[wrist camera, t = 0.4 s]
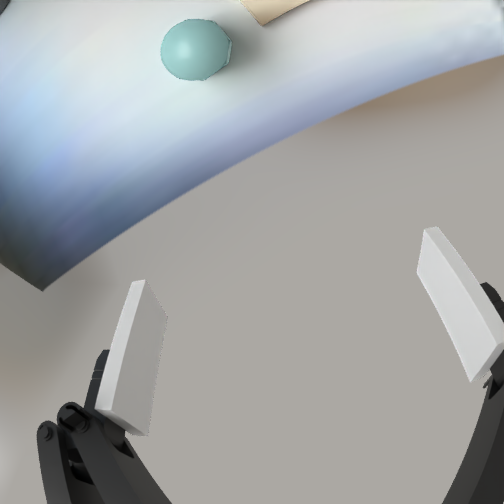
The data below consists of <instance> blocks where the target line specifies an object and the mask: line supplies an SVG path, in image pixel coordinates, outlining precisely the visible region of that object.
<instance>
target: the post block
mask: <svg viewBox="0 0 504 504" xmlns="http://www.w3.org/2000/svg"><path fill="white" fill-rule="evenodd" d="M240 1H241V3H242V4H243V5H244V6H245V7H246V8H247V10H248V11H249V12H250V13H251V14H252V15H253V17H254V18H255V19H256V20H257V21H258V23H259V24H260V25H261V26H263V25H265V24H266V23H268V22H270V21H272V20H273V19H275V18H277V17H279V16H280V15H282V14H284V13H286V12H288V11H290V10H292V9H294V8H295V7H297V6H299V5H301V4H303V3H305V2H307V1H309V0H240Z"/></svg>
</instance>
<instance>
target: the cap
mask: <svg viewBox="0 0 504 504" xmlns="http://www.w3.org/2000/svg"><path fill="white" fill-rule="evenodd" d="M231 48H232V41H231V39H230V38H229V37H228V36H227V35H226V34H225V32H224V31H223V30H222V29H221V28H220V27H219V25H218V24H217V23H216V22H214V21H210V20H203V19H187V20H185V21H183V22H181V23H179V24H177V25H175V26H174V27H173V28H172V29H170V30H169V32H168V33H167V34H166V36H165V37H164V39H163V42H162V45H161V59H162V62H163V64H164V66H165V67H166V69H167V70H168V71H169V72H170V73H171V74H173V75H174V76H176V77H177V78H179V79H184V80H190V81H194V80H201V81H203V80H206V79H207V78H209V77H210V76H211V75H213V74H214V73H216V72H217V71H218V70H220V69H221V68H223V67H224V66H225V65H227V64H228V63H229V59H230V53H231Z"/></svg>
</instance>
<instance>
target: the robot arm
mask: <svg viewBox="0 0 504 504" xmlns="http://www.w3.org/2000/svg"><path fill="white" fill-rule="evenodd" d="M8 2H9V0H0V14H1V13H2V11H3V10H4V8H5V7H6V5H7V4H8ZM417 275H418V276H419V278H420V280H421V281H422V283H423V285H424V287H425V289H426V291H427V292H428V294H429V296H430V298H431V300H432V302H433V304H434V305H435V307H436V309H437V311H438V313H439V315H440V317H441V319H442V321H443V323H444V325H445V327H446V329H447V331H448V333H449V335H450V338H451V340H452V342H453V344H454V346H455V348H456V351H457V353H458V355H459V357H460V359H461V362H462V364H463V366H464V368H465V371H466V374H467V376H468V378H469V381H470V382H473V381H475V380H477V379H479V378H482V377H484V376H485V375H486V373H487V372H488V371H489V369H490V370H491V373H492V375H491V377H490V378H489V379H488V380H487V382H486V383H485V384H484V386H483V388H486V386H487V385H488V388H487V392H486V396H485V399H484V403H483V406H482V410H481V413H480V416H479V419H478V422H477V425H476V428H475V431H474V433H473V436H472V439H471V442H470V444H469V447H468V449H467V452H466V454H465V457H464V459H463V461H462V464H461V466H460V468H459V470H458V473H457V475H456V477H455V479H454V481H453V483H452V485H451V487H450V489H449V491H448V493H447V495H446V497H445V499H444V501H443V503H442V504H503V502H504V302H503V301H502V300H501V297H500V296H499V294H498V293H497V291H496V290H495V289H494V288H493V287H492V286H490V285H489V284H488V283H487V282H485V283H482V284H479V283H478V281H477V280H476V278H475V277H474V275H473V274H472V272H471V271H470V269H469V268H468V266H467V265H466V264H465V262H464V261H463V260H462V258H461V257H460V255H459V254H458V253H457V251H456V250H455V249H454V248H453V246H452V245H451V244H450V242H449V241H448V239H447V238H446V237H445V236H444V235H443V233H442V232H441V231H440V229H439V228H438V227H432V228H427V229H424V233H423V240H422V246H421V252H420V257H419V263H418V268H417ZM167 319H168V316H167V315H166V313H165V311H164V310H163V308H162V306H161V305H160V303H159V301H158V299H157V298H156V296H155V294H154V293H153V291H152V289H151V287H150V286H149V284H148V282H147V281H146V280H139V281H133V282H132V284H131V287H130V290H129V292H128V295H127V298H126V301H125V304H124V307H123V310H122V313H121V316H120V319H119V322H118V325H117V328H116V332H115V335H114V338H113V341H112V345H111V348H110V350H103V351H102V353H101V354H100V356H99V357H98V359H97V361H96V365H95V368H94V372H93V375H92V380H91V382H90V385H89V389H88V393H87V397H86V401H85V405H84V408H82V407H81V406H79V405H78V404H77V403H75V402H68V403H66V404H64V405H63V406H62V407H61V408H60V410H59V412H58V415H57V424H58V425H56V424H55V423H53V422H51V421H45V422H43V423H41V425H40V426H39V428H38V431H37V445H38V453H39V461H40V468H41V474H42V480H43V485H44V490H45V495H46V500H47V504H172V503H171V502H170V501H169V499H168V498H167V497H166V496H165V494H164V493H163V491H162V490H161V489H160V487H159V486H158V485H157V483H156V482H155V480H154V479H153V478H152V476H151V475H150V473H149V472H148V470H147V469H146V468H145V466H144V465H143V463H142V461H141V460H140V458H139V457H138V455H137V454H136V452H135V451H134V449H133V447H132V446H131V444H130V442H129V441H128V439H127V438H126V437H125V430H126V431H127V432H129V433H130V434H132V435H138V436H148V433H149V425H150V418H151V411H152V404H153V398H154V390H155V384H156V379H157V373H158V367H159V361H160V356H161V350H162V345H163V339H164V333H165V329H166V324H167Z"/></svg>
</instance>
